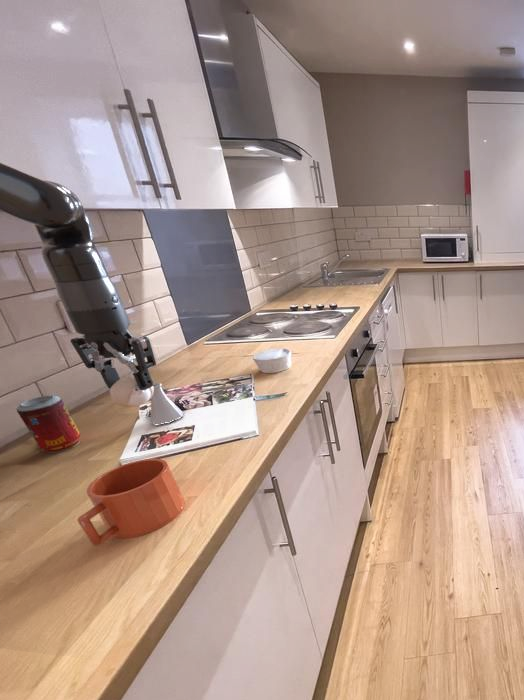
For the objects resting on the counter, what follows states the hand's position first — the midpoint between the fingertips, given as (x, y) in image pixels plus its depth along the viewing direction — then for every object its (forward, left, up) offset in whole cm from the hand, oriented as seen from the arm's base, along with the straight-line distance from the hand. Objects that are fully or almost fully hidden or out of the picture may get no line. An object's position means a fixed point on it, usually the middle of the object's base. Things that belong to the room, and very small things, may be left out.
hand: (131, 387), depth 80 cm
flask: (-19, +19, -20) cm, 33 cm away
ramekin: (-12, +54, -20) cm, 59 cm away
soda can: (-33, +5, -20) cm, 38 cm away
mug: (+9, -16, -19) cm, 27 cm away
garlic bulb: (0, 0, -4) cm, 4 cm away
